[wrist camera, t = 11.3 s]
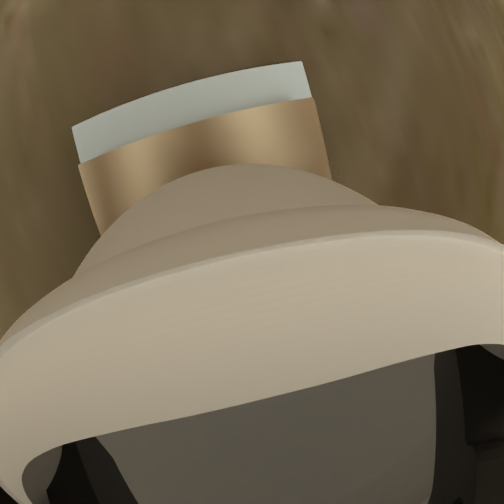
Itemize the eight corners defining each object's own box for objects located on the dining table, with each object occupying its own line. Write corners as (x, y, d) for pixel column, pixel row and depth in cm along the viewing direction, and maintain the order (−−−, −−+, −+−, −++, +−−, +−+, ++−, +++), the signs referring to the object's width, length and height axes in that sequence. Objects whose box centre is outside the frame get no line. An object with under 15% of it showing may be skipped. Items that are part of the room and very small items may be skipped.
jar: (184, 347, 19) (188, 576, 5) (105, 206, 15) (-106, 396, 1) (332, 286, 19) (483, 470, 5) (280, 130, 15) (577, 103, 1)
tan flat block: (163, 332, 24) (158, 361, 21) (98, 161, 19) (77, 165, 15) (329, 283, 25) (349, 305, 21) (294, 105, 20) (313, 97, 16)
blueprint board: (164, 356, 27) (163, 364, 25) (77, 127, 19) (71, 127, 18) (343, 304, 28) (348, 310, 26) (297, 65, 20) (301, 61, 19)
